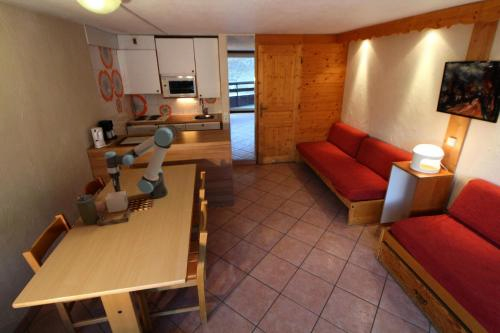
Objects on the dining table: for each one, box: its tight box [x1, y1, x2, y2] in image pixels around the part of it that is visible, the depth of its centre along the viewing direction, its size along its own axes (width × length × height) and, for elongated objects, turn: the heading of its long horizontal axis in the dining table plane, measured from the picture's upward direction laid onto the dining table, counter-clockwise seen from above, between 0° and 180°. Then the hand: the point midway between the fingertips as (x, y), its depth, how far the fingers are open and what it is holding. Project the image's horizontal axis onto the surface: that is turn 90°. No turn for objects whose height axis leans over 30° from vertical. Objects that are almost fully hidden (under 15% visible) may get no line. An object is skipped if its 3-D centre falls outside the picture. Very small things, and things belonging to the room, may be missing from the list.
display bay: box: [96, 207, 131, 227], centre depth 176 cm, size 18×14×3 cm
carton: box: [105, 190, 129, 213], centre depth 188 cm, size 12×10×11 cm
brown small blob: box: [95, 200, 106, 213], centre depth 186 cm, size 6×6×6 cm
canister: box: [75, 193, 100, 226], centre depth 170 cm, size 11×10×20 cm
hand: (119, 199), depth 198 cm, fingers closed
